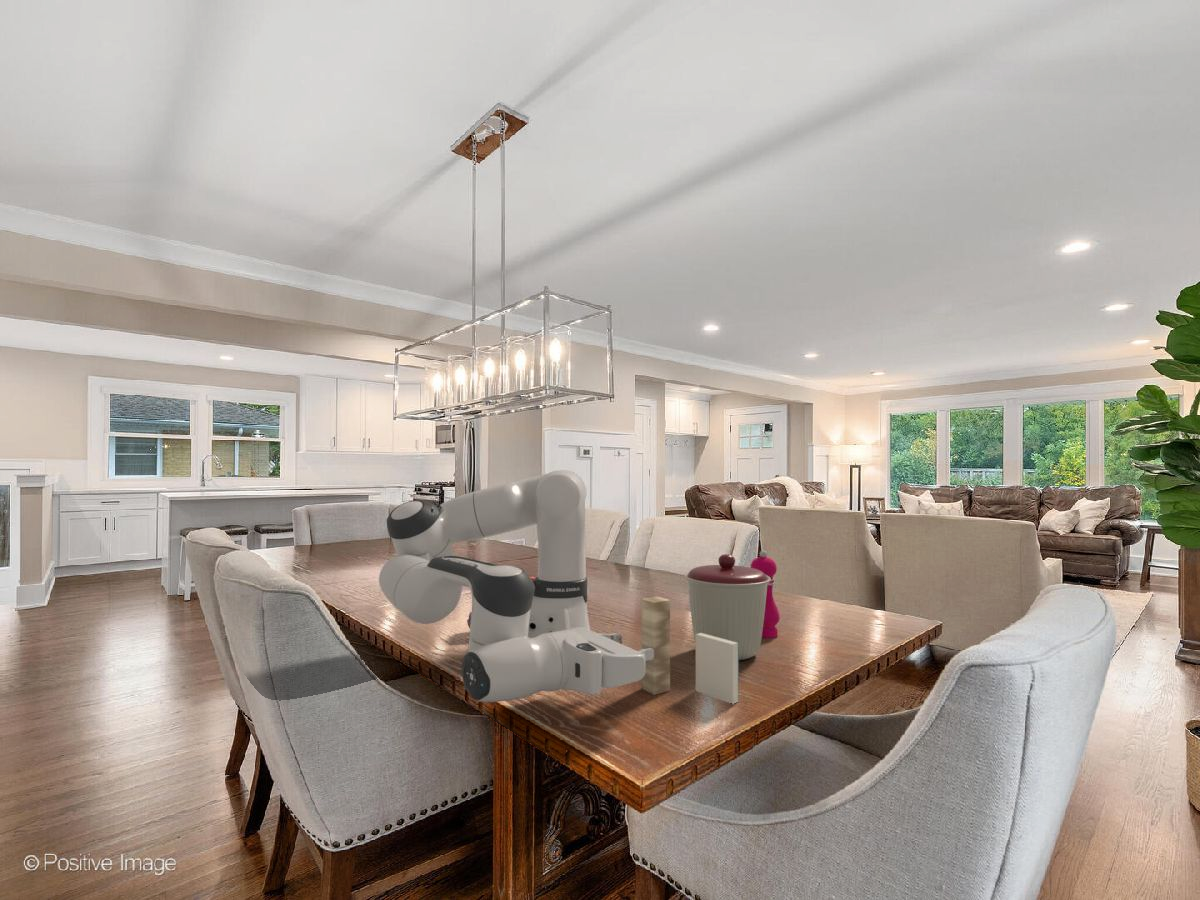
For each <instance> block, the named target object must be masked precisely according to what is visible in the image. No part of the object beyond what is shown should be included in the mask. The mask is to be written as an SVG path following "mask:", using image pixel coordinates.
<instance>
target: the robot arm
mask: <svg viewBox="0 0 1200 900" xmlns="http://www.w3.org/2000/svg"><path fill="white" fill-rule="evenodd" d="M586 497H587V488H586V484H585V482H584V480H583V478H582V477H581V476H580V475H578V474H577V473H575V472H573V471H571V470H567V469H563V470H561V469H559V470H553V471H550V472H549V473H543V474H541V475H535V476H532V477H531V476H530V477H528V478H524V479H523V478H522V479H519V480H516V481H511V482H507V483H503V484H499V485H495V486H490V487H486V488H483V489H479V490H475V491H472V492H468V493H465V494H462V495H459V496H455V497H454V498H451V499H449V500H446V501H444V502H443V503H441V504H439V503H434V502H430V501H426V500H420V499H414V500H409V501H406V502H403V503H401V504H399V505H397V506H396V507H395V508H393V509H392V510H391V512H390V513H389V514H388V515H387V518H386V528H387V533H388V536H389V538H391V541H392V544H393V548H394V549H395V552H396V555H395V556H392V557H391V558H389V559H388V560H387V561H386V562H385V563H384V565H382V567H381V568H380V569H381V570H380V572H379V575H378V584H379V587H380V590H381V591H382V593H383V595H384V596H385V598H386V599H387V600H388V602H389V603H390V604H391V605H392V606H393V607H394V608H395V609H396V610H398V611H399V612H400V613H401V614H402V615H403V616H405V617H406V618H408V619H409V620H411V621H412V622H414V623H415V622H416V623H417V624H421V625H429V624H430V625H431V624H434V623H437V622H440V621H442V620H443V619H445V618H447V617H448V616H449V615H450V614H451V613H452V612H453V611H454V610H455V608H457V605H458V604H459V602H460V599H461V595H462V592H463V588H464V587H466V588H469V590H470V592H471V611H470V612H471V624H470V628H469V633H468V635H469V636H468V642H467V643H468V646H467V652H466V653H465V655H464V656H463V658H462V659H463V660H462V662H461V677H462V681H463V685H464V688H465V689H466V692H467V693H468V695H469V696H470V697H471V698H472V699H473V700H474V701H477V702H481V703H499V702H506V701H507V702H508V701H514V700H515V701H516V700H519V699H524V698H528V697H532V696H533V695H534V694H537V693H539V692H556V691H560V690H564V691H576V692H580V693H584V694H587V695H591V696H592V695H597V694H600V693H602V688H604V689H612V688H617V687H621V686H625V685H628V684H629V685H630V684H631V683H636V682H639V681H642V678H643V677H644V676H645V673H646V661H648V660H652V659H653V658H654V650H653V649H652V648H649V647H643V648H642V647H640V650H635V649H633V648H631V647H629V646H627V645H624V644H623V640H622V639H623V636H622V635H621V634H620V633H597V632H595V631H594V630H591V625H590V621H589V614H588V605H587V602H588V599H589V582H588V577H587V576H586V575H587V574H586V573H587V572H586V569H587V567H586V565H587V564H586V563H587V562H586V560H587V555H586V551H587V547H586V546H587V545H586V544H587V542H586V541H587V540H586V538H587V537H586V535H587V534H586ZM535 525H536V531H537V533H536V534H537V577H535V576H530V575H529V574H528V573H527V572H526V571H525V570H524V569H523V568H520V567H517V566H513V565H505V564H504V565H503V564H493V563H489V562H485V561H481V560H476V559H473V558H467V557H464V556H463V557H462V556H457V555H455V553H454V549H453V546H452V545H453V544H455V543H462V542H469V541H476V540H481V539H485V538H489V537H494V536H496V535H497V536H498V535H502V534H507V533H510V532H514V531H518V530H522V529H525V528H528V527H531V526H535Z"/></svg>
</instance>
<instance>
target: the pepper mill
mask: <svg viewBox="0 0 1200 900" xmlns="http://www.w3.org/2000/svg"><path fill="white" fill-rule="evenodd" d="M777 567H778V566H777V564H776V562H775V561H774V560H773V558H770V557H768V551H766V550H760V552H759V556H758V557H755V558H754V559H753V560H752V561H751V562H750V568H754V569H757V570H760V571H762V572H763V573H764V574H765V575H767V576H769V577H770V578H771V581H770V582H769V583H768V584H767V594H766V604H765V614H764V623H763V631H762V638H761V639H775V638H777V637H778V635H779V634H778V633H779V631H778V628H777V625H778V623H779V622H780V612H779V609H778V606H777V604H776V601H775V599H774V595H773V586H774V585H775V578H774V576H775V575H776V573H777ZM774 637H775V638H774Z"/></svg>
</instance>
